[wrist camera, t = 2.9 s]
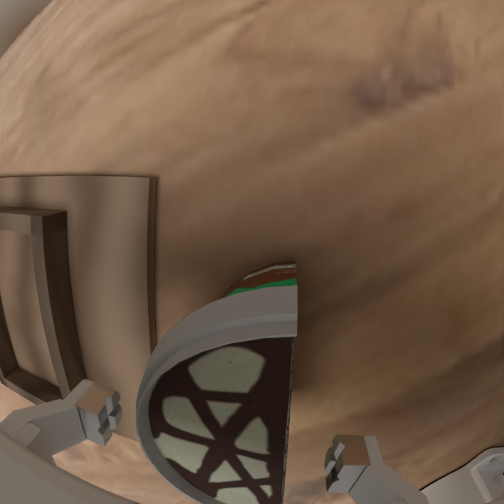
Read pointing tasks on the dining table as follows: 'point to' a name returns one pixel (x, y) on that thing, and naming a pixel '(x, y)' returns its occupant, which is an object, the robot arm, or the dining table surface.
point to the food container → (225, 393)
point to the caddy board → (77, 286)
